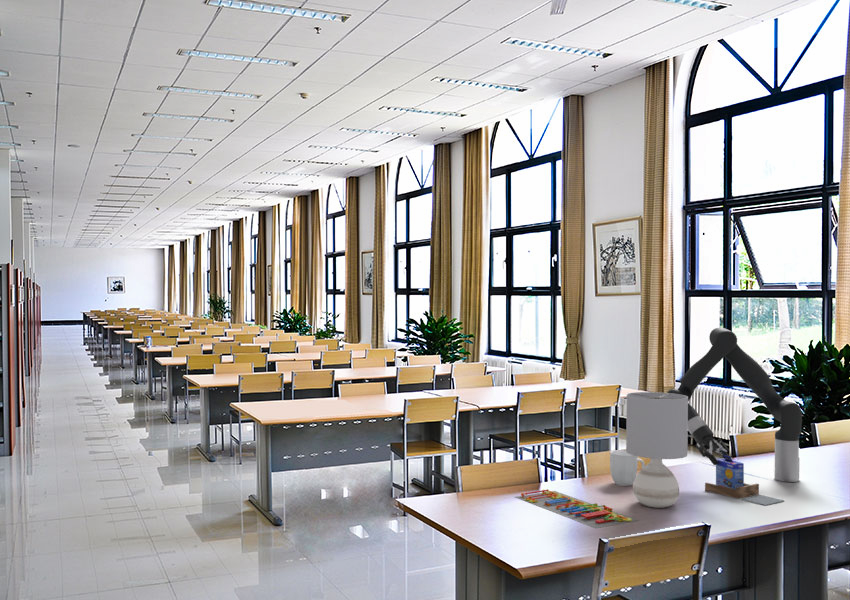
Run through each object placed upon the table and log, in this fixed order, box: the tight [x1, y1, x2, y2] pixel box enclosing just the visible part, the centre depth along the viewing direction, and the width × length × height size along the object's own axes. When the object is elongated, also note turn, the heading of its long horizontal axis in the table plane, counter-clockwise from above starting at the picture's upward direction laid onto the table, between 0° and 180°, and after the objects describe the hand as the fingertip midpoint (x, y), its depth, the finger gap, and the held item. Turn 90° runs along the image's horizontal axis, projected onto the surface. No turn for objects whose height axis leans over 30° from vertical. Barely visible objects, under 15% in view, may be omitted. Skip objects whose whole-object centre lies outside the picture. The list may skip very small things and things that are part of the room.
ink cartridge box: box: [715, 455, 745, 489], centre depth 303 cm, size 10×6×14 cm, turn 25°
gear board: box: [515, 488, 639, 529], centre depth 277 cm, size 45×2×19 cm
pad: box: [740, 494, 785, 507], centre depth 290 cm, size 12×10×1 cm
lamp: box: [625, 391, 689, 509], centre depth 282 cm, size 22×22×40 cm
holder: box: [704, 482, 760, 499], centre depth 302 cm, size 13×15×4 cm
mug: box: [609, 449, 646, 487], centre depth 314 cm, size 15×11×13 cm
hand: (723, 462), depth 306 cm, fingers open, 8 cm apart
